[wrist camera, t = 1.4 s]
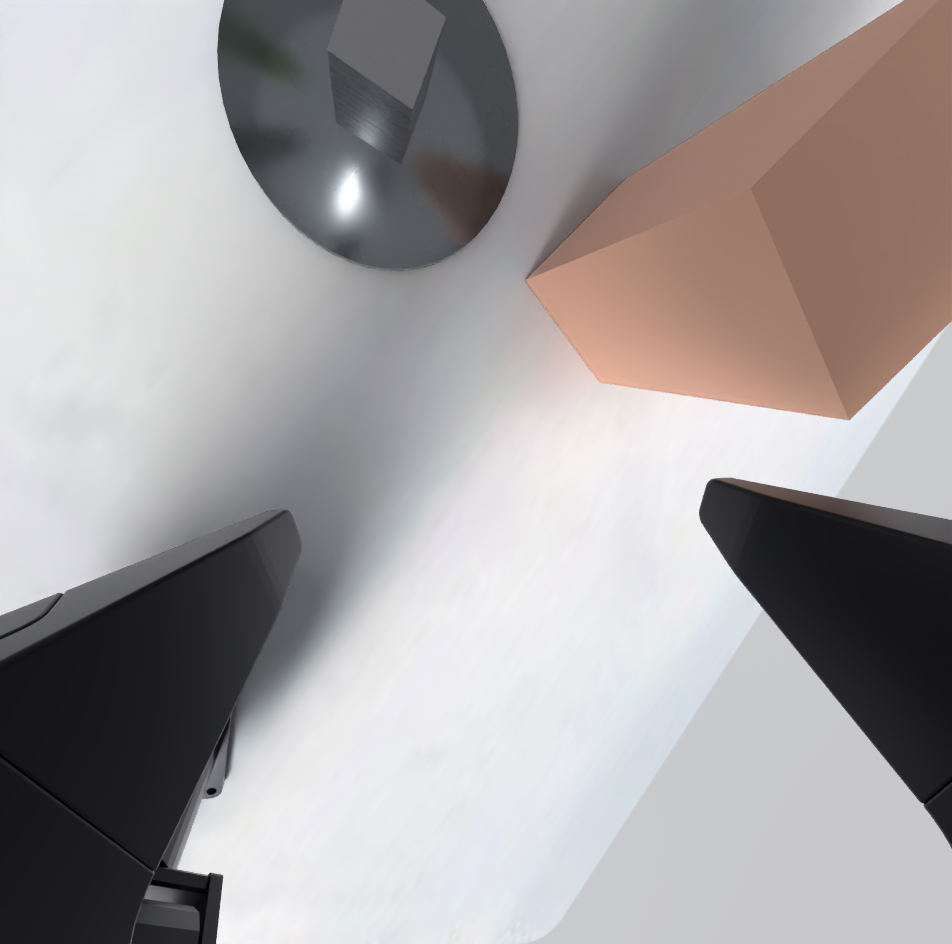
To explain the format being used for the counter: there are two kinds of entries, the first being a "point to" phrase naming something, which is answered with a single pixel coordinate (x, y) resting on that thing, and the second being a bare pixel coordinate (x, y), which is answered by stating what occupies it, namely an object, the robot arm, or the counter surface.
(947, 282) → the salmon pink tower
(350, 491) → the counter surface
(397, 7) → the brushed steel disc
